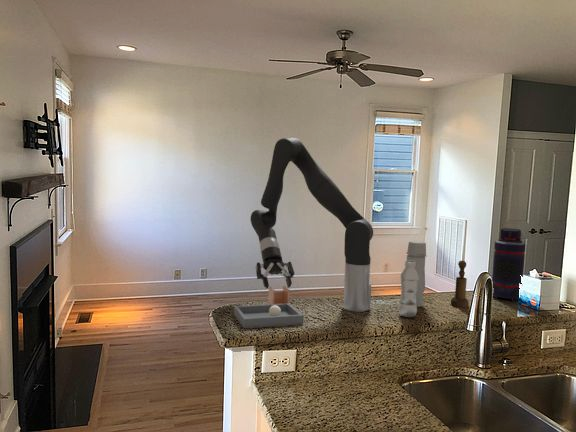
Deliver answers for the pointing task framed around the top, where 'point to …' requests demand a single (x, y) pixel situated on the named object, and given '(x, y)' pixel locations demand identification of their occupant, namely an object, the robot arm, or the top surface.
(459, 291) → the wooden pepper mill
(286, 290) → the scoop cup
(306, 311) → the top surface
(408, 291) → the plastic bottle
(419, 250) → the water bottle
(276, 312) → the ball
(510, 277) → the striped lidded canister
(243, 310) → the tray
